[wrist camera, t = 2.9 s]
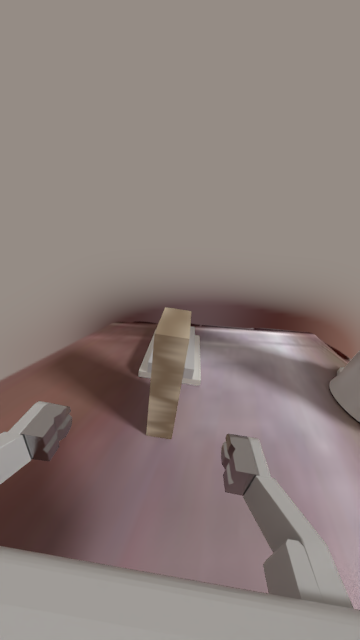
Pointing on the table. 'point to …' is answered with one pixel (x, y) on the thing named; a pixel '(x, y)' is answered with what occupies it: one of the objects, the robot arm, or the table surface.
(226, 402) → the table surface
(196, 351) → the floor track
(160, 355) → the tan wooden block
